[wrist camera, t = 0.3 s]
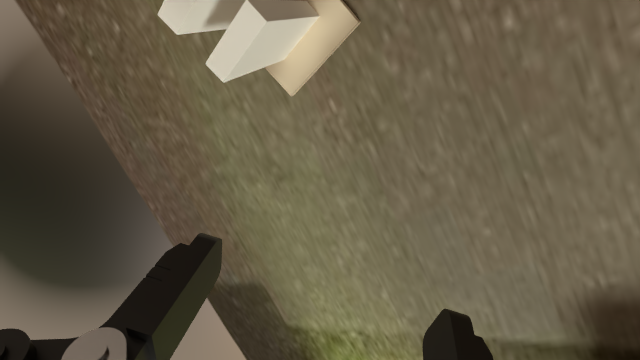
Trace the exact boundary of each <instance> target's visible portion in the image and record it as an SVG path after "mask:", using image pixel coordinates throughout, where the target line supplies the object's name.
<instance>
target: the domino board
mask: <svg viewBox="0 0 640 360" xmlns="http://www.w3.org/2000/svg"><path fill="white" fill-rule="evenodd" d="M296 1H307V2H308V3H309V4H310V5H311V6H312V8H313V9H314V10H315V11H316V12H317V13H318V15H319V16H320V17H319V18H318V19H317V20H316V21H315V23H314V24H313V25H312V26H311V28H310V29H309V30H308V31H307V32H306V34H305V35H304V36H303V37H302V39H301V40H300V41H299V42H298V43H297V45H296V46H295V47H294V48H293V50H292V51H291V52H290V53H289V54H288V56H287V57H286V58H285V59H284V60H282V61H280V62H277V63H274V64H272V65H269V66H266V67H265V69H266V70H267V71H268V72H269V73H270V74H271V75H272V76H273V77H274V78H275V79H276V80H277V81H278V83H279V84H280V85H281V86H282V87H283V88H284V89H285V90H286V91H287V92H288V93H289V94H290V95H291V96H293V95H294V94H295V93H296V92H297V91H298V90H299V89H300V88H301V87H302V86H303V85H304V84H305V83H306V81H307V80H308V79H309V78H310V77H311V76H312V75H313V74H314V73H315V72H316V71H317V70H318V68H319V67H320V66H321V65H322V64H323V63H324V62H325V61H326V60H327V59H328V58H329V57H330V55H331V54H332V53H333V52H334V51H335V50H336V49H337V48H338V47H339V46H340V45H341V43H342V42H343V41H344V40H345V39H346V38H347V37H348V36H349V35H350V34H351V33H352V32H353V30H354V29H355V28H356V27H357V26H358V25H359V24H360V23H361V21H360V20H359V19H358V18H357V17H356V15H355V14H354V13H353V12H352V11H351V9H350V8H349V7H348V6H347V5H346V4H345V2H344V1H343V0H296Z"/></svg>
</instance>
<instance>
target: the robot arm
mask: <svg viewBox="0 0 640 360" xmlns="http://www.w3.org/2000/svg"><path fill="white" fill-rule="evenodd" d="M221 260H222V239H220V238H217V237H214V236H210V235H207V234H204V233H200V234H198V235H197V236H196V238H195V239H194V240H193V241H192V243H191V244H190V245H185V244H182V243H180V244H178V245H177V246H175V247H173V248H172V249H170V250H168V251H167V252H166V253H165V254H164V255H163V256H162V257H161V258H160V260H159V261H158V262H157V263H156V265H155V267H153V268H152V269H151V270H150V271H149V273H148V274H147V275H146V278H143V280H142V281H141V282H140V283H139V284H138V286H137V287H136V288H135V289H134V290H133V292H132V293H131V294H130V295H129V296H128V297H127V299H126V300H125V301H124V302H123V303H122V305H121V306H120V307H119V308H118V309H117V310H116V312H115V313H114V314H113V315H112V316H111V318H109V320H108V321H107V322H105V323H104V324H103V325H102V326H100V327H99V328H98V329H94V330H91V331H89V332H87V333H85V334H83V335H82V336H80V337H77V338H71V339H48V340H30V338H29V337H28V335H27V334H26V333H25V332H23V331H21V330H19V329H2V330H0V360H170V358H171V356H172V355H173V353H174V352H175V350H176V348H177V346H178V345H179V343H180V341H181V340H182V338H183V336H184V335H185V333H186V331H187V330H188V328H189V326H190V324H191V323H192V321H193V320H194V318H195V316H196V315H197V313H198V311H199V309H200V308H201V306H202V304H203V303H204V301H205V299H206V298H207V296H208V294H209V293H210V291H211V289H212V288H213V286H214V284H215V282H216V281H217V278H218V276H219V273H220V270H221ZM423 360H493V356H492V354H491V352H490V351H489V349H488V347H487V346H486V344H485V342H484V340H483V339H482V337H479V336H475V335H474V331H473V326H472V322H471V319H470V318H469V316H467V315H464V314H461V313H458V312H455V311H451V310H448V309H443V310H442V311H441V313H440V314H439V315H438V316H437V318H436V319H435V320H434V322H433V323H432V324H431V326H430V327H429V328H428V329H427V331H426V333H425V335H424V339H423Z"/></svg>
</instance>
